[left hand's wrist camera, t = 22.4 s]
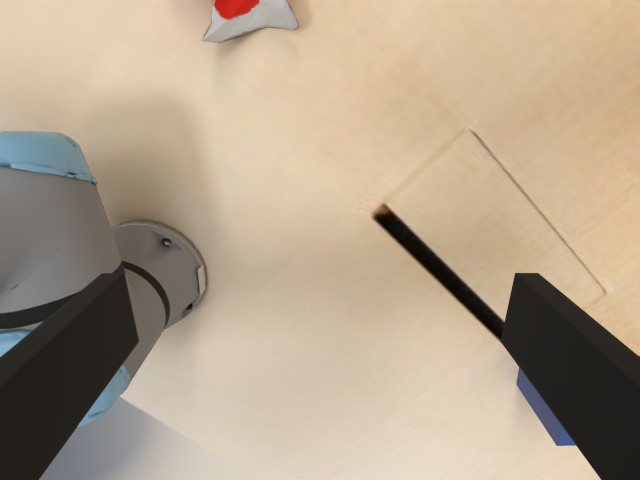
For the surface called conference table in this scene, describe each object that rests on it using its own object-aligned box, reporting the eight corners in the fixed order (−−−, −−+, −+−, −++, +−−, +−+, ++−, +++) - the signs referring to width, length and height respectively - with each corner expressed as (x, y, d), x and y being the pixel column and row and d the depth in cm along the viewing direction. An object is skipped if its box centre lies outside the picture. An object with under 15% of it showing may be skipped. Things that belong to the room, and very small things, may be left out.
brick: (548, 383, 59) (595, 444, 48) (516, 384, 59) (556, 446, 49) (558, 337, 56) (610, 392, 45) (524, 338, 56) (569, 394, 45)
